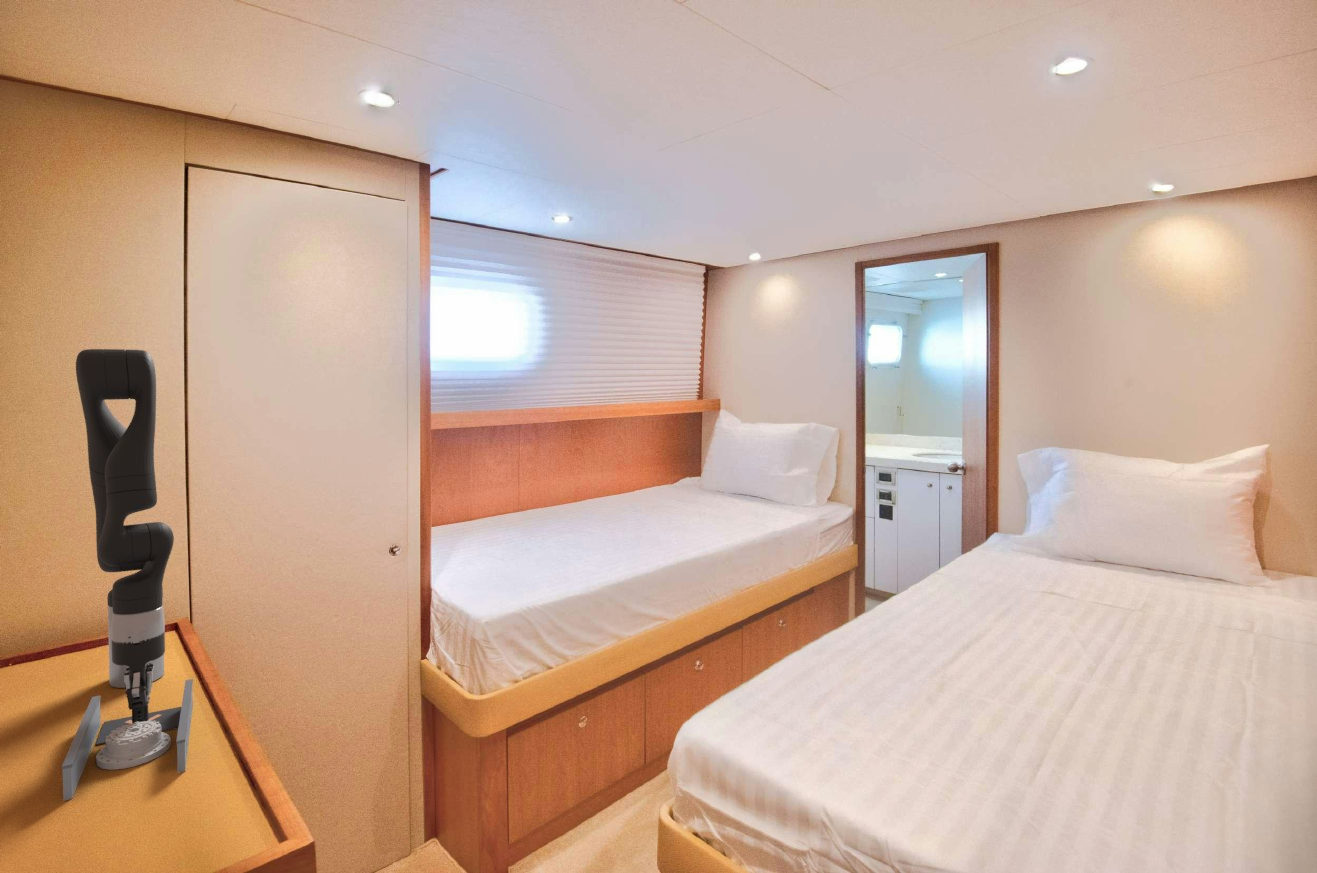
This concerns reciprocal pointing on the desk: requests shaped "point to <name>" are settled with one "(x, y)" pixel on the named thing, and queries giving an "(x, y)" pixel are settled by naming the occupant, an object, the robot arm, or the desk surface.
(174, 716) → the pad
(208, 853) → the desk surface
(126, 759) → the mechanical component
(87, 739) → the plastic channel
